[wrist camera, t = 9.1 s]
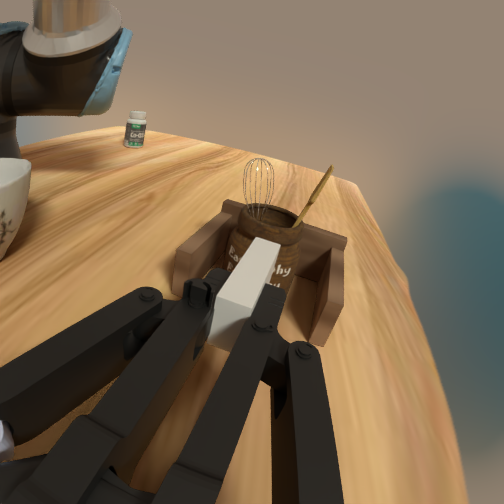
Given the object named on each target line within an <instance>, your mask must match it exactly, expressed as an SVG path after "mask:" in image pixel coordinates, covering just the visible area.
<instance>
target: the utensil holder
mask: <svg viewBox="0 0 504 504" xmlns="http://www.w3.org/2000/svg"><path fill="white" fill-rule="evenodd" d="M257 159H261V160H262V158H256V159H255V160H257ZM252 160H253V161H252ZM252 160H251V161H252V162H254V161H255V160H254V159H252ZM263 160H265V159H263ZM266 161H267V160H266ZM249 162H250V161H249ZM249 162H248V163H249ZM252 162H251V163H252ZM258 162H259V160H258ZM267 162H268V161H267ZM248 163H247V164H248ZM251 163H250V164H251ZM264 163H265V162H264ZM268 163H269V162H268ZM250 164H249V166H250ZM252 164H253V163H252ZM265 165H266V163H265ZM270 165H271V164H269V166H270ZM246 166H247V165H246ZM249 166H248V167H249ZM257 166H258V163H257ZM271 166H272V165H271ZM251 167H252V165H251ZM245 168H246V167H245ZM266 168H267V166H266ZM270 169H271V167H270ZM272 169H273V167H272ZM333 169H334V167H333V165H331V166H330V167H329V169H328V170H327V172H326V173H325V175H324V176H323V178H322V179H321V181H320V182H319V184H318V185H317V187H316V188H315V190H314V191H313V193H312V195H311V196H310V199H309V201H308V203H307V204H306V206H305V208H304V209H303V211H302V212H301V214H300V215H299V217H298V216H297V215H295V214H294V213H292V212H290V211H288V210H285V209H283V208H280V207H277V206H273V205H268V204H267V202H266V201H265V203H266V204H260V199H259V203H256V183H255V203H253V204H252V200H251V204H248V202H246V204H247V205H245V206H243V207H242V209H241V211H240V213H239V216H238V220H237V222H238V226H236V227H235V228H234V230H233V231H232V233H231V235H230V238H229V241H228V245H227V249H226V254H225V259H224V263H223V268H222V269H224V270H227V271H230V272H233V270H234V269H235V267H236V266H237V264H238V263H239V262H240V260H241V259H242V257H243V256H244V254H245V253H246V251H247V250H248V248H249V247H250V245H251V244H252V242H253V241H254V239H255V238H256V237H258V238H261V239H264V240H267V241H271V242H274V243H277V244H280V245H281V246H280V249H279V253H278V256H277V259H276V263H275V266H274V269H273V273H272V276H271V279H270V282H269V284H270V285H273V286H276V287H279V288H282V289H284V290H285V293H286V295H287V293H288V290H289V288H290V285H291V282H292V280H293V277H294V274H295V271H296V268H297V265H298V261H299V258H300V244H299V241H300V240H301V239H302V237H303V232H304V223H303V221H302V219H303V217H304V216H305V214H306V212H307V211H308V209H309V208H310V206H311V205H312V204H313V203H314V202H315V200H316V199H317V197H318V195H319V194H320V192H321V190H322V189H323V187H324V185H325V183H326V182H327V180H328V178H329V177H330V175H331V173H332V171H333ZM247 170H248V168H247ZM244 174H245V170H244ZM267 174H268V169H267ZM273 174H274V170H273ZM246 176H247V172H246ZM256 176H257V169H256ZM261 179H262V161H261ZM250 180H251V171H250ZM270 188H271V181H270ZM273 190H274V178H273ZM243 191H244V180H243ZM267 192H268V178H267ZM260 194H261V187H260ZM269 194H270V191H269ZM245 195H246V182H245V194H244V197H245ZM272 195H273V193H272ZM250 197H251V192H250ZM268 198H269V196H268ZM266 199H267V195H266ZM271 199H272V197H271ZM245 200H246V201H247V198H245ZM267 201H268V199H267ZM270 201H271V200H270ZM269 204H270V202H269Z"/></svg>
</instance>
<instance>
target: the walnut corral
mask: <svg viewBox="0 0 504 504" xmlns="http://www.w3.org/2000/svg"><path fill="white" fill-rule="evenodd" d="M243 206H245V204H242V203H239V202H235V201H232V200H229V199H227V200H225V201H224V202H223V205H222V210H221V212H220V213H219V214H218V215H216V216H215V217H214V218H213V219H211V220H210V221H209V222H208V223H207V224H205V225H204V226H203V227H202V228H201V229H199V230H198V231H197V232H196V233H195V234H193V235H192V236H191V237H190V238H189V239H188V240H186V241H185V242H184V243H183V244H182V245H181V246H179V247H178V248H177V249H176V257H175V265H174V274H173V284H172V294H175V295H177V296H180V297H182V295H183V287H184V282H185V281H186V280H188V279H192V278H199V279H202V277H203V276H204V275H205V274H206V273H207V272H208V270H209V269H210V268H211V267H212V266H213V264H214V263H215V262H216V261H217V260H218V258H219V257H220V256H221V255H222V254H223V252H224V251H226V249H227V245H228V241H229V238H230V235H231V233H232V231H233V230H234V228H235V227H236V226H238V222H237V220H238V216H239V213H240V211H241V209H242V207H243ZM299 244H300V258H299V261H298V265H297V268H296V271H295V275H298V276H301V277H304V278H307V279H310V280H313V281H316V282H319V283H318V289H317V296H316V302H315V308H314V314H313V320H312V326H311V331H310V337H309V343H312V344H315V345H318V346H322V347H324V345H325V343H326V341H327V339H328V337H329V335H330V333H331V331H332V329H333V327H334V325H335V323H336V321H337V319H338V317H339V315H340V313H341V310H342V308H343V306H344V249H345V247H346V244H347V237H344V236H341V235H338V234H335V233H332V232H329V231H326V230H323V229H320V228H317V227H314V226H311V225H308V224H305V223H304V232H303V237H302V239H301V240H300V241H299Z"/></svg>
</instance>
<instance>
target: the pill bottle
mask: <svg viewBox="0 0 504 504" xmlns="http://www.w3.org/2000/svg"><path fill="white" fill-rule="evenodd" d="M146 115H147V113H146V112H140V111H131V112H130V119H128V120H127V125H126V132H125V139H124V146H125V147H129V148H141V147H142V146H143V141H144V135H145V129H146V121H145V118H146Z"/></svg>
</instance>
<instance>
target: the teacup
mask: <svg viewBox="0 0 504 504" xmlns="http://www.w3.org/2000/svg"><path fill="white" fill-rule="evenodd" d="M31 166H32V165H31V162H29V161H28V160H25V159H16V158H0V260H1V259H2V258H3V256H4V255H5V253H6V251H7V248H8V247H9V245H10V244H11V242H12V241H13V239H14V237H15V235H16V233H17V231H18V229H19V227H20V224H21V222H22V219H23V216H24V213H25V209H26V205H27V200H28V194H29V188H30V177H31Z"/></svg>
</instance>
